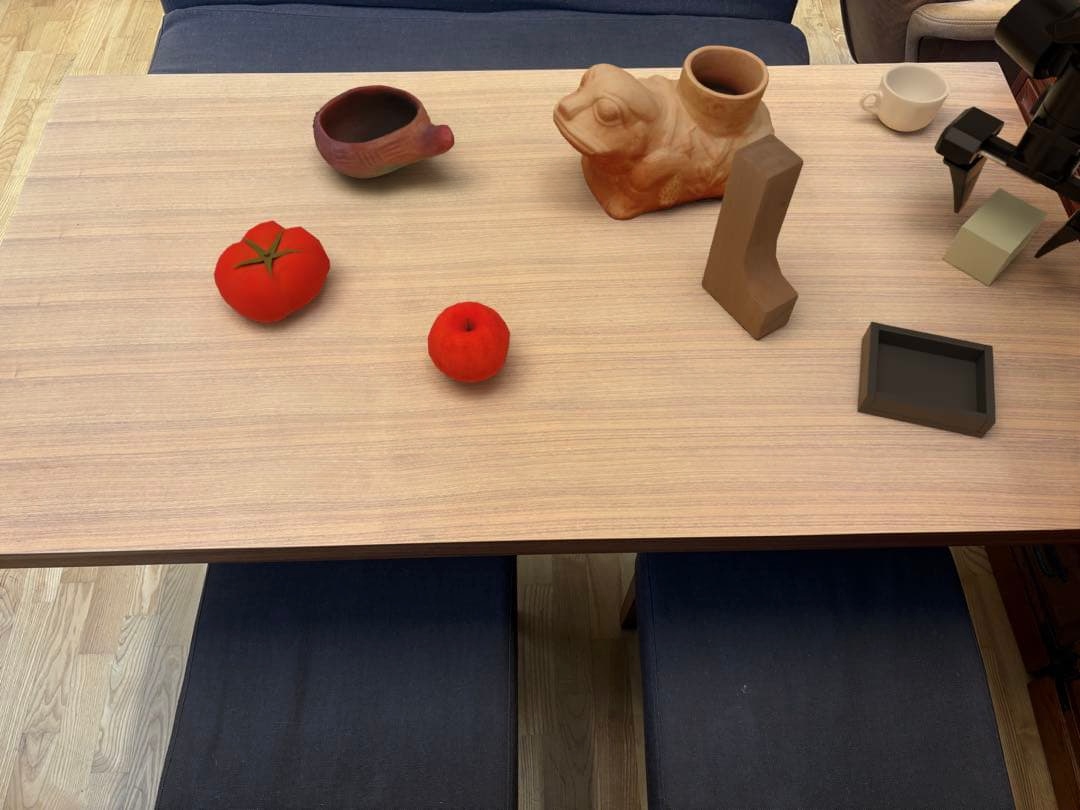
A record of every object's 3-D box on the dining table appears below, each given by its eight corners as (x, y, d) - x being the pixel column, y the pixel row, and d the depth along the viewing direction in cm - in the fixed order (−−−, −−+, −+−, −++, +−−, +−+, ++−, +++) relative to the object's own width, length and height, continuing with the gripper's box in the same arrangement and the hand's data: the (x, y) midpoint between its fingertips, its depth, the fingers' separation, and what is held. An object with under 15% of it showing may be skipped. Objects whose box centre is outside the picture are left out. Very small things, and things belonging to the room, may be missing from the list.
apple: (519, 392, 82) (518, 346, 76) (437, 406, 81) (430, 361, 75) (503, 328, 86) (501, 280, 80) (426, 341, 85) (418, 293, 79)
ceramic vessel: (533, 158, 100) (534, 44, 88) (735, 115, 105) (763, 0, 92) (572, 240, 93) (579, 128, 80) (787, 190, 98) (825, 77, 85)
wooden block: (789, 322, 87) (843, 190, 72) (756, 341, 86) (804, 210, 71) (731, 267, 91) (772, 131, 76) (699, 285, 90) (733, 149, 75)
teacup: (919, 97, 107) (936, 59, 102) (941, 138, 103) (960, 100, 98) (842, 103, 106) (856, 65, 102) (862, 144, 102) (877, 106, 98)
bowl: (316, 201, 96) (300, 144, 89) (325, 126, 103) (311, 68, 96) (458, 197, 97) (453, 140, 90) (458, 122, 104) (453, 65, 97)
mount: (980, 362, 85) (993, 345, 82) (982, 438, 80) (996, 422, 77) (861, 338, 86) (871, 321, 84) (857, 411, 81) (866, 395, 79)
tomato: (209, 304, 88) (188, 261, 82) (283, 240, 93) (268, 195, 87) (279, 348, 85) (261, 306, 79) (351, 279, 90) (340, 235, 84)
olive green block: (978, 221, 95) (999, 187, 91) (1024, 247, 93) (1047, 213, 89) (942, 259, 92) (961, 225, 88) (988, 286, 90) (1010, 253, 86)
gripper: (1214, 117, 77) (1114, 239, 90) (1023, 29, 84) (956, 154, 97) (1164, 177, 72) (1066, 297, 85) (966, 79, 79) (904, 203, 92)
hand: (996, 233), depth 90 cm, fingers open, 9 cm apart
